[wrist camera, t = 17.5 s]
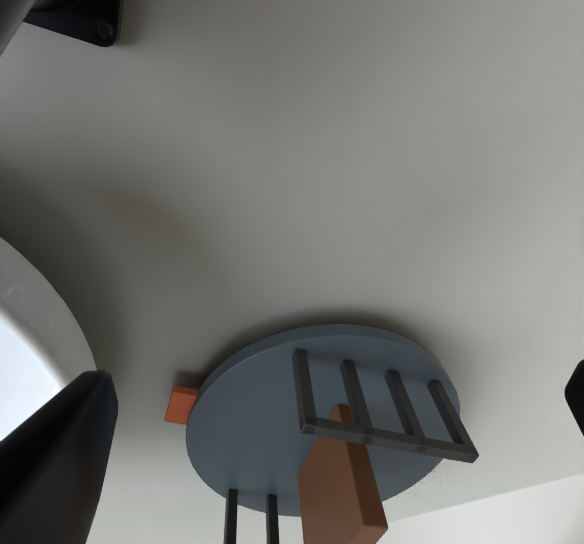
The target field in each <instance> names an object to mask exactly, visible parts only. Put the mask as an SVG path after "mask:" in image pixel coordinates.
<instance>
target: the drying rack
mask: <svg viewBox="0 0 584 544" xmlns="http://www.w3.org/2000/svg"><path fill="white" fill-rule="evenodd" d="M164 421H167V422H173V423H179V424H185V425H187V428H186V446H187V452H188V456H189V458H190V461H191V463H192V466H193V467H194V469H195V470H196V472H197V474H198V475H199V476H200V477H201V479H202V480H203V481H204V482H205V483H206V484H207V485H208V486H209V487H210V488H212V489H213V490H214V491H215V492H217V493H218V494H220V495H221V496H223V497H225V498H226V511H225V528H224V544H236V530H237V504H238V505H241V506H244V507H247V508H249V509H252V510H256V511H260V512H264V513H266V529H267V544H279V527H278V515H283V516H295V517H301V519H302V529H303V540H304V544H376V542H377V541H378V540H379V539H380V538H381V537H382V535H383V534H384V533H385V532H386V531H387V530H388V524H387V521H386V517H385V513H384V509H383V506H382V501H385V500H387V499H389V498H391V497H393V496H395V495H397V494H399V493H401V492H403V491H405V490H406V489H408V488H410V487H411V486H413V485H414V484H416V483H417V482H418V481H420V480H421V479H423V478H424V477H425V476H426V475H427V474H428V473H430V472H431V471H432V470H433V469H434V468H435V467H436V466H437V465H438V464H439V463H440V461H441V460H442V459H443V458H445V459H451V460H456V461H462V462H468V463H473V462H474V461H475V460H476V459H477V458H478V457H479V454H478V452H477V450H476V448H475V446H474V444H473V443H472V441H471V439H470V437H469V435H468V433H467V431H466V429H465V427H464V425H463V423H462V421H461V419H460V404H459V400H458V396H457V392H456V390H455V388H454V386H453V384H452V382H451V380H450V378H449V376H448V374H447V373H446V371H445V369H444V368H443V367H442V365H441V364H440V363H439V361H438V360H437V359H436V358H435V357H434V356H433V355H432V354H430V353H429V352H428V351H427V350H426V349H424V348H423V347H421V346H420V345H418V344H417V343H415V342H414V341H412V340H410V339H408V338H405V337H403V336H401V335H399V334H396V333H393V332H390V331H387V330H384V329H380V328H375V327H370V326H364V325H354V324H320V325H313V326H306V327H300V328H296V329H291V330H287V331H283V332H280V333H277V334H274V335H271V336H269V337H266V338H263V339H261V340H259V341H257V342H255V343H253V344H250V345H248V346H246V347H245V348H243V349H241V350H240V351H238V352H237V353H235V354H233V355H232V356H230V357H229V358H228V359H227V360H225V361H224V362H223V363H222V364H221V365H219V366H218V367H217V368H216V369H215V370H214V371H213V372H212V373H211V374H210V375H209V377H208V378H207V379H206V380H205V381H204V383H203V384H202V386H201V387H200V389H199V390H196V389H191V388H185V387H180V386H174V388H173V391H172V395H171V398H170V401H169V404H168V408H167V411H166V414H165V419H164Z"/></svg>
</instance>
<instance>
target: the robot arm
mask: <svg viewBox="0 0 584 544" xmlns="http://www.w3.org/2000/svg"><path fill="white" fill-rule="evenodd" d="M122 9H123V0H0V56H1V54H2V53H3V51H4V50H5V48H6V47H7V45H8V43H9V42H10V40H11V39H12V37H13V36H14V34H15V32H16V31H17V29H18V28H19V26H20V25H21V23H22V21H23V22H26V23H29V24H32V25H35V26H39V27H42V28H45V29H48V30H51V31H54V32H57V33H60V34H63V35H66V36H70V37H73V38H76V39H79V40H82V41H85V42H88V43H91V44H94V45H98V46H101V47H110V46H113V45H115V44H116V43H117V42H118V41H119V37H120V31H121V20H122ZM102 22H103V23H104V24H106V25H107V27H108V28H109V32H110V34H109V36H108V38H106V39H105V38H103V37H101V36H100V34H99V33H98V25H99V24H100V23H102ZM565 398H566V401H567V403H568V405H569V408H570V410H571V412H572V414H573V416H574V418H575V420H576V422H577V424H578V426H579V428H580V430H581V432H582V434H583V436H584V360H582V361H580V362H579V363H578V365H577V367H576V369H575V370H574V372H573V374H572V376H571V378H570V380H569V382H568V383H567V385H566V387H565ZM117 415H118V400H117V396H116V392H115V388H114V384H113V380H112V377H111V374H110V373H109V372H108V371H106V370H97V371H85V372H83V373H81V374H80V375H79V376H77V377H76V378H75V379H74V380H73V381H71V382H70V383H69V384H68V385H67V386H66V387H64V388H63V389H62V390H61V391H60V392H58V393H57V394H56V395H55V396H54V397H52V398H51V399H50V400H49V401H48V402H46V403H45V404H44V405H43V406H42V407H41V408H39V409H38V410H37V411H36V412H35V413H33V414H32V415H31V416H30V417H29V418H27V419H26V420H25V421H24V422H23V423H22V424H20V425H19V426H18V427H17V428H16V429H14V430H13V431H12V432H11V433H10V434H8V435H7V436H6V437H5V438H4V439H2V440H1V441H0V544H86V541H87V538H88V535H89V531H90V528H91V525H92V522H93V519H94V516H95V513H96V510H97V506H98V503H99V499H100V495H101V491H102V487H103V482H104V477H105V472H106V468H107V463H108V458H109V454H110V449H111V444H112V439H113V435H114V430H115V425H116V420H117Z"/></svg>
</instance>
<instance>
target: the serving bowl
mask: <svg viewBox="0 0 584 544" xmlns="http://www.w3.org/2000/svg"><path fill="white" fill-rule="evenodd" d="M85 371H97V368H96V365H95V362H94V359H93V355H92V353H91V350H90V348H89V345H88V343H87V340H86V338H85V336H84V334H83V332H82V330H81V328H80V326H79V324H78V323H77V321H76V319H75V317H74V316H73V314H72V313H71V311H70V310H69V308H68V307H67V305H66V303H65V302H64V301H63V299H62V298H61V297H60V296H59V294H58V293H57V292H56V290H55V289H54V288H53V287H52V285H51V284H50V283H49V282H48V281H47V280H46V278H45V277H44V276H43V275H42V274H41V273H40V272H39V271H38V270H37V269H36V268H35V267H34V266H33V265H32V264H31V263H30V262H29V261H28V260H27V259H26V258H25V257H24V256H23V255H21V254H20V253H19V252H18V251H17V250H16V249H14V248H13V247H12V246H11V245H10V244H9V243H7V242H6V241H5V240H4V239H2V238H1V237H0V441H1V440H2V439H4V438H5V437H6V436H7V435H8V434H10V433H11V432H12V431H13V430H14V429H16V428H17V427H18V426H19V425H20V424H22V423H23V422H24V421H25V420H26V419H27V418H29V417H30V416H31V415H32V414H33V413H35V412H36V411H37V410H38V409H39V408H41V407H42V406H43V405H44V404H45V403H46V402H48V401H49V400H50V399H51V398H52V397H54V396H55V395H56V394H57V393H58V392H60V391H61V390H62V389H63V388H64V387H66V386H67V385H68V384H69V383H70V382H71V381H73V380H74V379H75V378H76V377H77V376H79V375H80V374H81V373H83V372H85Z"/></svg>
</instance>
